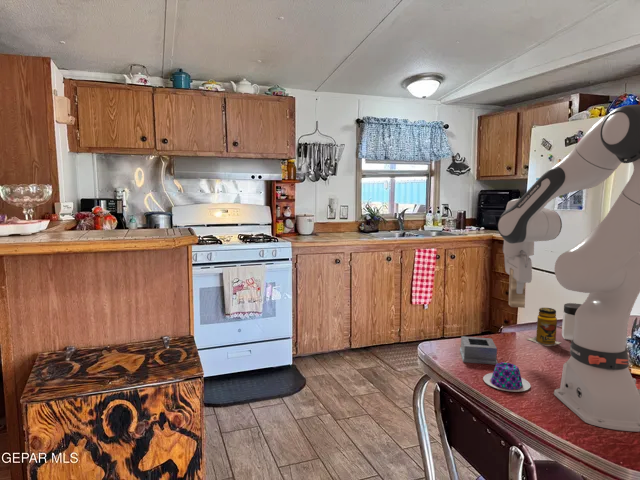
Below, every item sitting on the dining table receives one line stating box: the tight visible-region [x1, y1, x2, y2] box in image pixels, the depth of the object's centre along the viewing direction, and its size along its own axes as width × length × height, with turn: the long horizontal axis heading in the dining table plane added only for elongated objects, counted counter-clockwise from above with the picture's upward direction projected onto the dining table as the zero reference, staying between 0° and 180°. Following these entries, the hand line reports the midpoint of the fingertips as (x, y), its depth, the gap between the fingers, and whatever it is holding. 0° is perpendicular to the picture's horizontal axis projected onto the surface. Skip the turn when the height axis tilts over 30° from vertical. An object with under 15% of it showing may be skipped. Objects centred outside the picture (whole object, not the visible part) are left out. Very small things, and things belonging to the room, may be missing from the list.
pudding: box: [482, 362, 532, 393], centre depth 118 cm, size 12×12×5 cm
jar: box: [561, 302, 583, 342], centre depth 155 cm, size 9×8×12 cm
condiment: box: [526, 307, 561, 347], centre depth 151 cm, size 7×8×12 cm
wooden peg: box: [508, 268, 526, 309], centre depth 139 cm, size 4×4×12 cm
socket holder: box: [459, 336, 498, 366], centre depth 137 cm, size 10×10×5 cm
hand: (517, 291), depth 139 cm, fingers closed on wooden peg, 4 cm apart
